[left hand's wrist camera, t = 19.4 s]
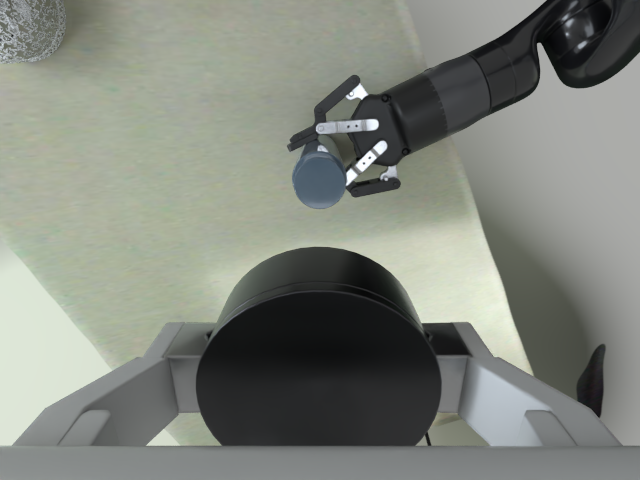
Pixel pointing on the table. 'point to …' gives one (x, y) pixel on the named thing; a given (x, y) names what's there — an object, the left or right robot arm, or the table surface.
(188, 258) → the table surface
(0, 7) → the pendant light
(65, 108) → the table surface
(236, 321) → the lid
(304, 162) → the blue bottle
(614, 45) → the right robot arm
